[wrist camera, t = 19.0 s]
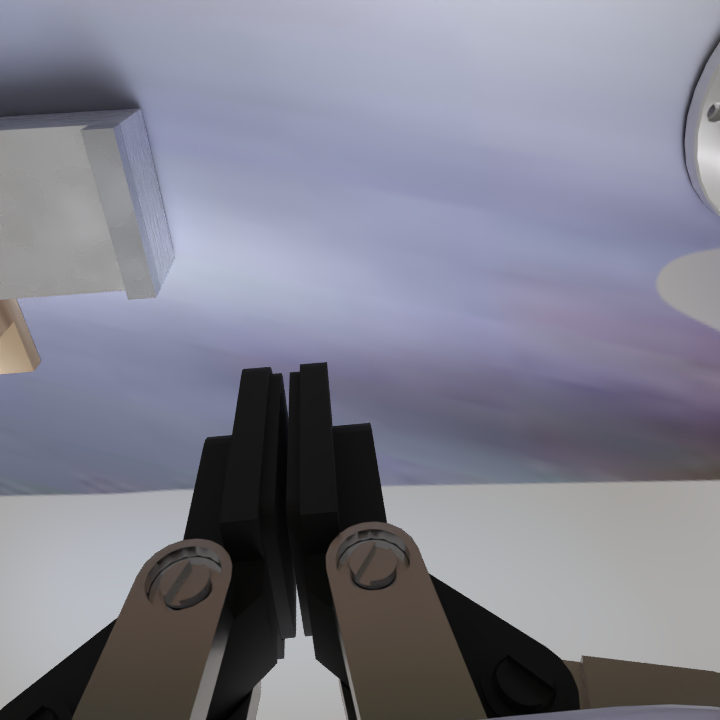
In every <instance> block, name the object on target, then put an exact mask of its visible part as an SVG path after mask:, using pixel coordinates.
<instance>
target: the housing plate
mask: <svg viewBox="0 0 720 720" xmlns="http://www.w3.org/2000/svg"><path fill="white" fill-rule="evenodd" d="M174 259H175V256H174V252H173V247H172V243H171V239H170V234H169V230H168V225H167V221H166V217H165V212H164V208H163V203H162V199H161V194H160V190H159V186H158V181H157V177H156V172H155V168H154V164H153V159H152V155H151V150H150V146H149V141H148V137H147V133H146V128H145V124H144V119H143V115H142V111H141V108H138V109H122V110H105V111H88V112H72V113H55V114H38V115H22V116H5V117H0V300H5V299H18V298H31V297H45V296H58V295H71V294H85V293H98V292H111V291H124V290H126V293H127V297H128V300H129V299H143V298H156V297H157V295H158V293H159V291H160V288H161V286H162V284H163V282H164V280H165V278H166V276H167V274H168V272H169V270H170V267H171V265H172V263H173V261H174Z"/></svg>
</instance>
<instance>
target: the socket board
mask: <svg viewBox="0 0 720 720" xmlns="http://www.w3.org/2000/svg"><path fill="white" fill-rule="evenodd" d="M40 362H41V360H40V358H39V355H38V353H37V350H36V348H35V345H34V343H33V340H32V338H31V335H30V332H29V330H28V327H27V325H26V322H25V320H24V317H23V315H22V312H21V310H20V307H19V305H18V302H17V300H16V299H5V300H0V374H7V373H19V372H32V371H35V369H36V368H37V366H38V365H39V363H40Z"/></svg>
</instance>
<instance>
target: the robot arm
mask: <svg viewBox="0 0 720 720" xmlns="http://www.w3.org/2000/svg"><path fill="white" fill-rule="evenodd" d="M685 154H686V166H687V169H688V173H689V176H690V179H691V182H692V185H693V187H694V189H695V191H696V192H697V194H698V195H699V197H700V199H701V200H702V202H703V203H704V204H705V205H706V206H707V207H708V208H709V209H710V210H711V211H712V212H713V213H715V214H716V215H717V216H719V217H720V42H719V44H718V46H717V47H716V49H715V50H714V52H713V54H712V55H711V57H710V58H709V60H708V62H707V64H706V66H705V68H704V71H703V73H702V75H701V77H700V80H699V82H698V84H697V86H696V88H695V92H694V95H693V99H692V102H691V106H690V109H689V113H688V116H687V125H686V134H685ZM296 584H297V590H298V596H299V603H300V609H301V615H302V622H303V628H304V634H305V636H313V643H314V650H315V656H316V660H318V661H319V662H320V663H322V665H324V666H325V667H326V668H327V669H328V670H330V671H331V672H332V673H333V674H334V675H336V676H337V677H338V678H339V684H340V685H339V686H340V691H341V696H342V700H343V705H344V710H345V715H346V719H347V720H720V673H717V672H714V671H706V670H698V669H690V668H681V667H673V666H665V665H656V664H648V663H640V662H632V661H623V660H614V659H607V658H599V657H590V656H582V658H581V661H580V662H574V661H566V660H561V659H560V658H559V657H558V656H557V655H555V654H554V653H553V652H552V651H550V650H549V649H548V648H546V647H545V646H544V645H542V644H541V643H539V642H537V641H536V640H534V639H533V638H531V637H529V636H528V635H526V634H524V633H523V632H521V631H520V630H518V629H516V628H515V627H513V626H512V625H510V624H509V623H507V622H505V621H504V620H502V619H501V618H499V617H497V616H496V615H494V614H493V613H491V612H489V611H488V610H486V609H485V608H483V607H482V606H480V605H478V604H477V603H475V602H473V601H472V600H470V599H469V598H467V597H466V596H464V595H462V594H461V593H459V592H458V591H456V590H454V589H453V588H451V587H450V586H448V585H446V584H445V583H443V582H442V581H440V580H438V579H437V578H435V577H434V576H432V575H431V574H429V573H428V571H427V569H426V566H425V563H424V561H423V559H422V556H421V553H420V551H419V548H418V547H417V545H416V544H415V542H414V540H413V539H412V537H411V536H409V535H408V534H407V533H406V532H405V531H403V530H402V529H400V528H398V527H396V526H393V525H391V524H389V523H387V520H386V514H385V508H384V502H383V496H382V490H381V484H380V477H379V471H378V465H377V459H376V453H375V447H374V441H373V435H372V429H371V424H370V423H364V424H353V425H341V426H332V414H331V403H330V391H329V380H328V369H327V362H324V363H312V364H300V372H290V385H289V419H288V412H287V405H286V397H285V390H284V383H283V376H282V373H278V374H272V370H271V367H263V368H251V369H243V370H242V375H241V381H240V388H239V394H238V400H237V407H236V413H235V420H234V426H233V433H232V435H228V436H217V437H207V439H206V440H205V443H204V446H203V451H202V456H201V460H200V465H199V470H198V474H197V479H196V483H195V488H194V493H193V498H192V502H191V507H190V511H189V516H188V521H187V525H186V530H185V535H184V539H183V541H180V542H177V543H174V544H171V545H168V546H167V547H165V548H164V549H162V550H160V551H158V552H157V553H155V554H154V555H153V556H152V557H151V558H150V559H149V560H148V561H147V562H146V563H145V564H144V565H143V567H142V569H141V570H140V572H139V573H138V575H137V577H136V579H135V581H134V583H133V586H132V588H131V590H130V592H129V594H128V597H127V599H126V601H125V603H124V605H123V608H122V610H121V612H120V614H119V616H118V618H117V619H115V620H114V621H113V622H111V623H110V624H109V625H108V626H106V627H105V628H104V629H102V630H101V631H100V632H99V633H97V634H96V635H95V636H94V637H92V638H91V639H90V640H89V641H87V642H86V643H85V644H83V645H82V646H81V647H79V648H78V649H77V650H76V651H74V652H73V653H72V654H71V655H69V656H68V657H67V658H66V659H64V660H63V661H62V662H60V663H59V664H58V665H57V666H55V667H54V668H53V669H51V670H50V671H49V672H48V673H47V674H45V675H44V676H43V677H41V678H40V679H39V680H37V681H36V682H35V683H34V684H32V685H31V686H30V687H29V688H27V689H26V690H25V691H23V692H22V693H21V694H20V695H18V696H17V697H16V698H15V699H13V700H12V701H11V702H9V703H8V704H7V705H6V706H4V707H3V708H2V709H1V710H0V720H256V715H257V710H258V705H259V700H260V692H261V681H260V680H261V679H262V678H263V677H264V676H265V675H266V674H267V673H268V672H269V671H270V670H271V669H272V668H273V667H274V666H275V664H277V659H283V658H284V643H285V642H284V641H285V638H294V637H295V636H296Z"/></svg>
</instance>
